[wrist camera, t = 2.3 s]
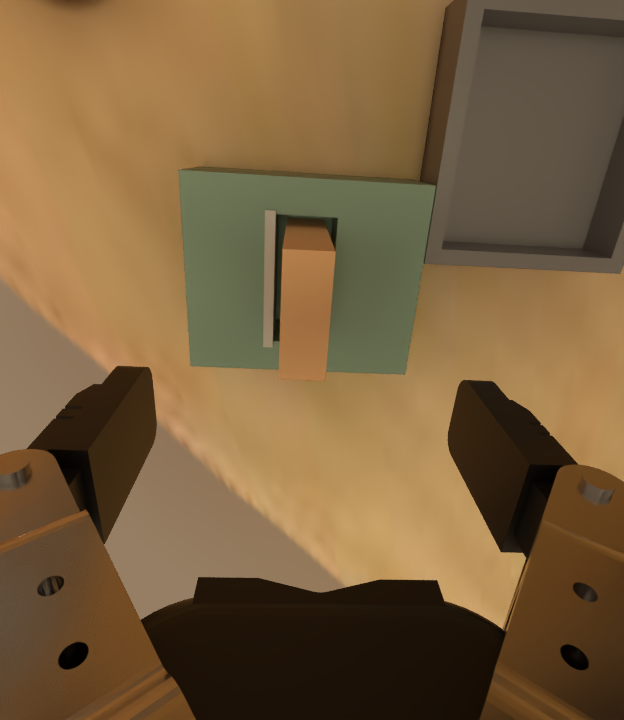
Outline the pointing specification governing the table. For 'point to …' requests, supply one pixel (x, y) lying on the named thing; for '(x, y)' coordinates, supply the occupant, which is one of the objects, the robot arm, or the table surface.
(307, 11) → the table surface
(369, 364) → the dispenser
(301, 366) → the tan wooden plank
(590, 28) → the tray
